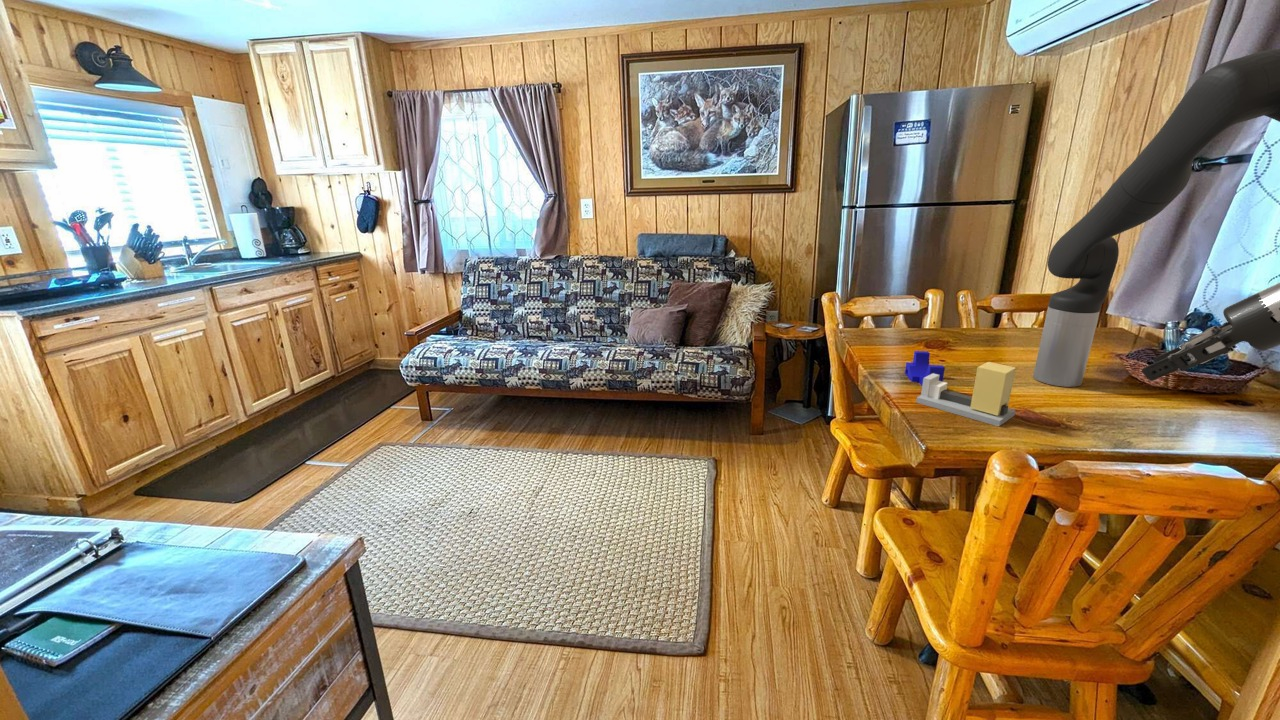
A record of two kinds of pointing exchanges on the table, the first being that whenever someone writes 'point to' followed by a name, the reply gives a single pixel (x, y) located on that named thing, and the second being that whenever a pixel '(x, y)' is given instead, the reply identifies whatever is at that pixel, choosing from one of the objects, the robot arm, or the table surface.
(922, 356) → the blue stepped block
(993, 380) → the pale yellow block
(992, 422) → the comb board
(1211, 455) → the table surface
